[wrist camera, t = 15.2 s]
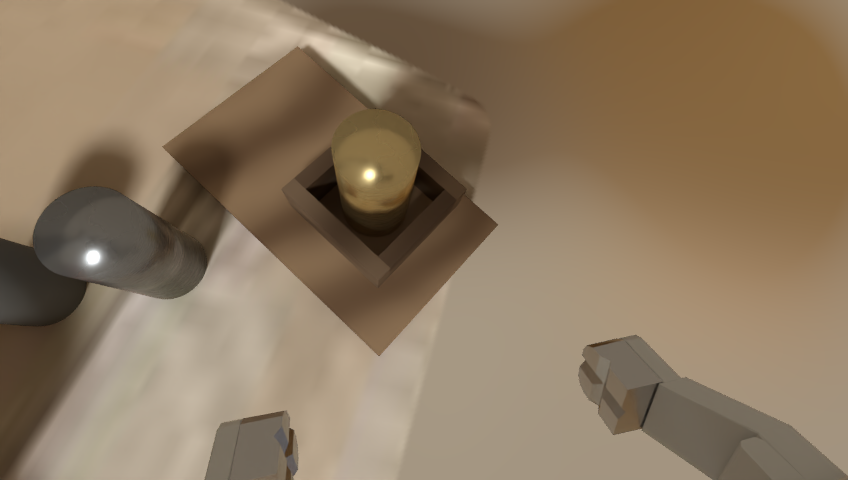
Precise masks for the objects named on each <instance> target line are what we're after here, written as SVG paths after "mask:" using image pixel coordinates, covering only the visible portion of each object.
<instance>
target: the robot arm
mask: <svg viewBox="0 0 848 480" xmlns="http://www.w3.org/2000/svg"><path fill="white" fill-rule="evenodd" d="M582 356H583V357H584V358H585V361H584V362H583V363H582V364H581V366H580V368H579V374H578V376H579V381H580V385H581V387H582V390H583V392H584V393H585V395H586V396H587V398H588V399H589V400H590V401H592V402H593V403H595V404H597V405H598V406H599V408H598V409H599V410H598V414H599V416H600V417H601V418H602V420H603V421H604V423H605V424H606V426H607V427H608V429H609V430H610V431H611V433H612V434H613V435H616V434H620V433H625V432H629V431H634V430H638V429H642V431H643V432H645V433H646V434H648V435H649V436H650V437H652V438H653V439H655V440H656V441H658V442H659V443H661V444H662V445H663V446H665V447H666V448H668V449H669V450H671V451H672V452H674V453H675V454H677V455H678V456H679V457H681V458H682V459H684V460H685V461H687V462H688V463H689V464H691V465H693V466H694V467H695V468H697V469H698V470H700V471H701V472H702V473H704V474H705V475H707V476H708V477H710V478H711V479H713V480H848V476H847V475H846V474H845V473H843V471H841V470H840V469H839V468H838V467H837V466H836V465H835V464H833V463H832V462H831V461H830V460H829V459H828V458H827V457H826V456H825V455H823V454H822V453H821V452H820V451H819V450H818V449H817V448H816V447H814V446H813V445H812V444H811V443H810V442H809V441H808V440H806V439H805V438H804V437H803V436H802V435H801V434H799V432H797V431H796V430H795V429H794V428H793V427H792V426H790V425H788V424H786V423H784V422H782V421H780V420H777V419H775V418H773V417H771V416H769V415H767V414H764V413H762V412H760V411H758V410H756V409H753V408H751V407H749V406H747V405H745V404H743V403H741V402H739V401H736V400H734V399H732V398H730V397H728V396H726V395H723V394H721V393H719V392H717V391H715V390H713V389H710V388H708V387H706V386H704V385H702V384H699V383H697V382H695V381H693V380H691V379H688V378H687V377H685V378H681V377H680V376H678V375H677V373H676V372H675V371H673V369H672V368H671V367H670V366H669V365H668V364H667V363H666V362H665V361H664V360H663V359H662V358H661V357H660V356H659V355H658V354H657V353H656V352H655V351H654V350H653V349H652V348H651V347H650V346H649V345H648V344H647V343H646V342H645V341H644V340H643V339H642V338H641V337H639V336H637V335H633V336H628V337H624V338H619V339H612V340H608V341H604V342H599V343H595V344H591V345H587V346H586V347H585V348H584V349H583V354H582ZM289 427H290V417H289V415H288V412H287V411H281V412H276V413H270V414H265V415H260V416H254V417H249V418H244V419H239V420H234V421H229V422H224V423H221V424H220V426H219V428H218V430H217V433H216V437H215V441H214V444H213V448H212V452H211V456H210V460H209V464H208V468H207V472H206V476H205V480H294V478H293V476H294V475H295V473H296V472H297V470H298V444H297V439H296V435H295V432H294V430H293V429H291V428H289Z"/></svg>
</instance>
